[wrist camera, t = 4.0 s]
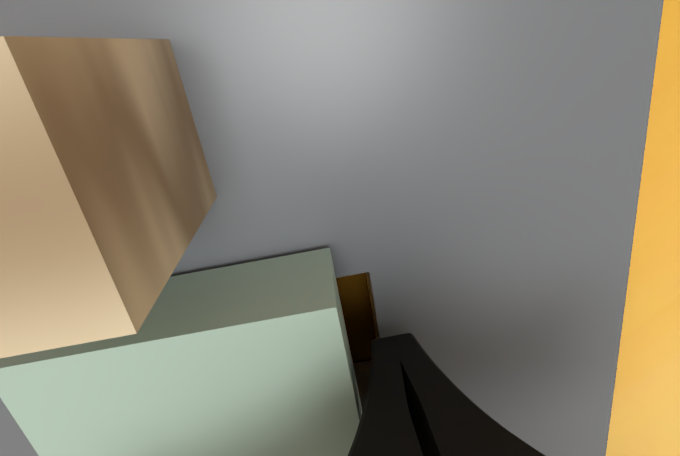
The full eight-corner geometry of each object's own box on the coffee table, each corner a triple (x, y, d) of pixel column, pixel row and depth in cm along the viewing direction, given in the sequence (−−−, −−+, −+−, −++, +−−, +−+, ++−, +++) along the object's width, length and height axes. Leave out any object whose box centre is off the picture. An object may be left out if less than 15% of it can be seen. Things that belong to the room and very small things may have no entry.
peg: (217, 196, 12) (136, 333, 6) (73, 222, 12) (-133, 382, 6) (169, 39, 10) (3, 36, 5) (3, 69, 10) (-361, 102, 5)
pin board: (569, 414, 20) (604, 463, 17) (57, 507, 20) (24, 568, 17) (609, -121, 12) (684, -161, 9) (-263, 40, 12) (-403, 39, 9)
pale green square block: (368, 441, 15) (381, 528, 13) (151, 481, 15) (118, 575, 13) (329, 247, 12) (336, 307, 9) (55, 297, 12) (-18, 371, 9)
